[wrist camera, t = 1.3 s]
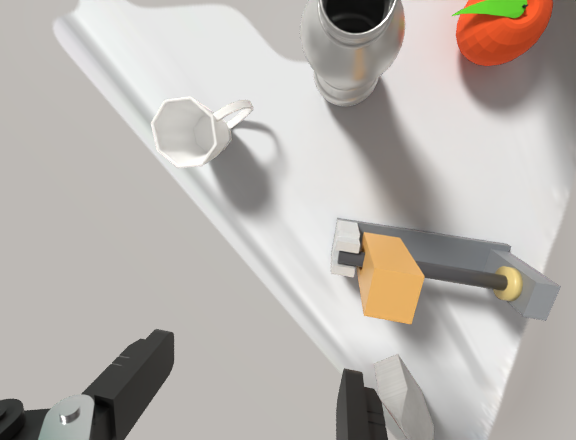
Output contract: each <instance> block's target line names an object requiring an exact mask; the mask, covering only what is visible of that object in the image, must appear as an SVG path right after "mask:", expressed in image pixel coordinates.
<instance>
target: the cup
mask: <svg viewBox="0 0 576 440" xmlns="http://www.w3.org/2000/svg"><path fill="white" fill-rule="evenodd" d="M241 109H243V110H242V111H241V112H240V113H239V114H238V115H237V116H236V117H234V118H233V119H232V120H231V121H229V122H225V121H224V120H223V118H224V117H226V116H227V115H229V114H231V113H233V112H235V111H238V110H241ZM252 111H253V106H252V104H251V102H250V101H248V100H240V101H236V102H233V103H231V104H228V105H226V106H224V107H223V108H221V109H219V110H218V111H216V112H215V113H214V112H213V111H212V110H211V109H209V108H208V107H206V106H204V105H203V104H201V103H200V102H198V101H197V100H195V99H194V98H192V97H183V98H176V99H168V100H164V102H163V103H162V105H161V107H160V108H159V110H158V112H157V114H156V115H155V117H154V119H153V120H152V122H151V126H152V131H153V135H154V140H155V145H156V150H157V151H158V152H159V153H160V154H161V155H162V156H164V157H165V158H166V159H167V160H168V161H170V162H171V163H172V164H173V165H174V166H176V167H177V168H185V167H196V166H203V165H205V164H206V163H208V162H209V161H210V160H212V159H214V158H215V157H217V156H218V155H219V153H220V152H221V151H223V150H225V149H226V147H227V146H228V144H229V143H230V142H231V140H232V136H231V128H233V127H234V126H236V125H237V124H238V123H240V122H241V121H242V120H243V119H244V118H246V117H247V116H248V115H249V114H250V113H251V112H252Z"/></svg>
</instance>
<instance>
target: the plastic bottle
mask: <svg viewBox="0 0 576 440" xmlns="http://www.w3.org/2000/svg"><path fill="white" fill-rule="evenodd" d="M404 34H405V16H404V9H403V6H402V2H401V0H308V2H307V3H306V6H305V9H304V11H303V14H302V19H301V25H300V39H301V44H302V49H303V52H304V54H305V57H306V59H307V61H308V63H309V64H310V66H311V67H312V69H313V70H314V81H315V84H316V87H317V89H318V91H319V92H320V94H321V95H322V96H323V97H324V98H325V99H326V100H327V101H329V102H330V103H332V104H335V105H338V106H352V105H356V104H358V103H360V102H362V101H363V100H365V99H366V98H367V97H368V96H369V95H370V94H371V93H372V91H373V90H374V88H375V86H376V84H377V81H378V77H379V76H380V75H382V74H383V73H384V72H385V71H386V70H387V69H388V68H389V67H390V66H391V64H392V63H393V61H394V60H395V59H396V57H397V55H398V53H399V51H400V49H401V46H402V42H403V39H404Z"/></svg>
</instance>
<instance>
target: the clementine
mask: <svg viewBox="0 0 576 440" xmlns="http://www.w3.org/2000/svg"><path fill="white" fill-rule="evenodd" d="M552 7H553V0H469V1H468V2H467V4H466V6H465V7H464V9H462V10H460V11H458V12H457V13H455V14H454V15H459V14H460V17H459V20H458V23H457V30H456V38H457V44H458V47H459V49H460V51H461V53H462V54H463V55H464V56H465V57H466V58H467V59H468V60H469V61H471V62H473V63H475V64H478V65H483V66H491V65H499V64H503V63H506V62H509V61H512V60H513V59H515V58H517V57H518V56H520V55H522V54H523V53H524V52H526V51H527V50H528V49H529V48H531V47H532V46H533V45H534V44H535V43H536V42H537V40H538V39H539V38H540V36H541V35H542V33H543V32H544V30H545V28H546V27H547V24H548V22H549V20H550V17H551V13H552ZM454 15H452V16H454Z"/></svg>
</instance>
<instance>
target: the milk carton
mask: <svg viewBox="0 0 576 440" xmlns="http://www.w3.org/2000/svg"><path fill="white" fill-rule="evenodd" d="M374 368H375V374H376V379H377V385H378V391H379V397H380V400H381V401H382V403H383V404H384V406H385V407H386V408H387V410H388V411H389V413H390V414H391V416H392V417H393V419H394V420H395V421H396V423H397V424H398V426H399V427H400V429H401V430H402V432H403V433H404V435H405V436H406V437H407V439H408V440H433V436H434V426H433V423H432V420H431V417H430V414H429V411H428V408H427V405H426V402H425V399H424V396H423V393H422V390H421V389H420V387H419V385H418V384H417V382H416V381H415V379H414V378H413V376H412V375H411V373H410V372H409V370H408V369H407V367H406V366H405V364H404V363H403V361H402V360H401V358H400V357H399V355H398V354H396V355H393V356H391V357H389V358H386V359H384V360H381V361H379V362H376V363H374Z"/></svg>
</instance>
